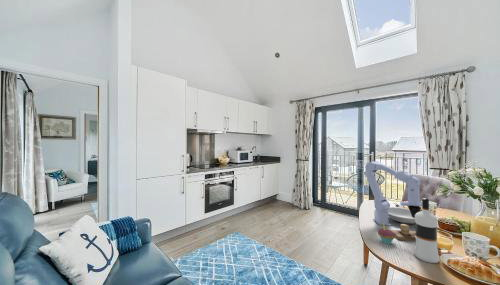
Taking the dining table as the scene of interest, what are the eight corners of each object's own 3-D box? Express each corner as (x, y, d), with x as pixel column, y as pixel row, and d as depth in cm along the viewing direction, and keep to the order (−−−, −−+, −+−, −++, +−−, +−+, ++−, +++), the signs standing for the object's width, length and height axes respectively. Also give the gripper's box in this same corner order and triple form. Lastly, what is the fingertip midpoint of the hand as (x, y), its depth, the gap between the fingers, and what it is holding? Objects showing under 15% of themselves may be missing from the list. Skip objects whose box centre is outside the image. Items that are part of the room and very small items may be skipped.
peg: (399, 235, 121) (398, 223, 121) (407, 235, 120) (406, 224, 120) (403, 238, 117) (402, 226, 117) (411, 239, 116) (411, 227, 116)
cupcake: (387, 246, 108) (387, 225, 108) (374, 239, 116) (373, 219, 116) (399, 244, 110) (398, 223, 110) (385, 237, 119) (384, 217, 119)
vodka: (413, 258, 97) (412, 198, 97) (414, 251, 103) (413, 194, 103) (439, 266, 90) (438, 202, 90) (439, 257, 97) (438, 198, 97)
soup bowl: (408, 215, 152) (408, 207, 152) (434, 229, 128) (434, 219, 128) (376, 214, 155) (376, 206, 155) (396, 228, 131) (396, 218, 131)
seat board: (390, 232, 124) (390, 229, 124) (421, 234, 121) (421, 231, 121) (398, 239, 115) (398, 236, 115) (433, 242, 112) (432, 238, 112)
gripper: (404, 197, 121) (405, 219, 121) (431, 198, 118) (431, 220, 118) (398, 194, 128) (398, 215, 128) (423, 195, 125) (423, 216, 125)
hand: (414, 217), depth 123 cm, fingers closed
